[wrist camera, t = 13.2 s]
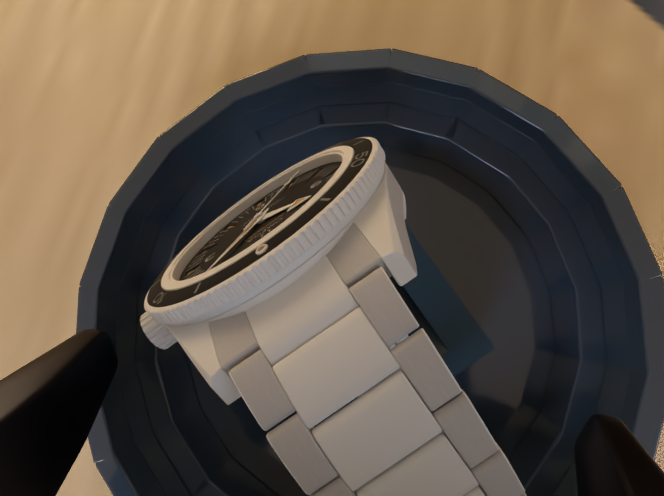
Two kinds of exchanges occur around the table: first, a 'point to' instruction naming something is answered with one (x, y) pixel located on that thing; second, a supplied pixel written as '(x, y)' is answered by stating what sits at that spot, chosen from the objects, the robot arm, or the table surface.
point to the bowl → (433, 235)
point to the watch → (335, 333)
